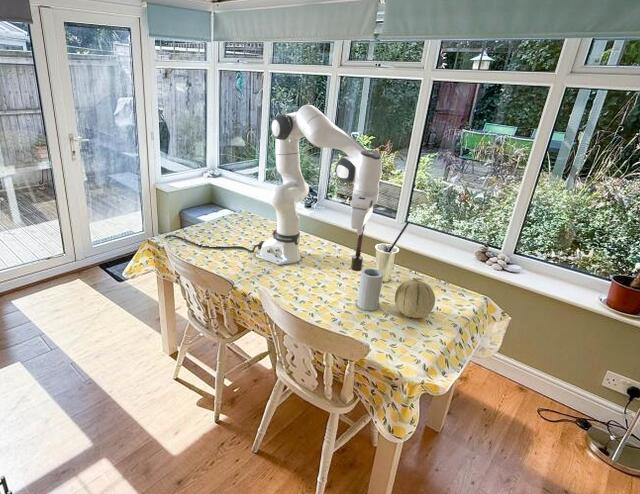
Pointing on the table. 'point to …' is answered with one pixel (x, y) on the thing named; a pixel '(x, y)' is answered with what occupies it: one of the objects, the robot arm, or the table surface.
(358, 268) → the brown pestle
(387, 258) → the glass
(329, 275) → the table surface
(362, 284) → the grey hollow cylinder
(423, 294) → the cantaloupe
